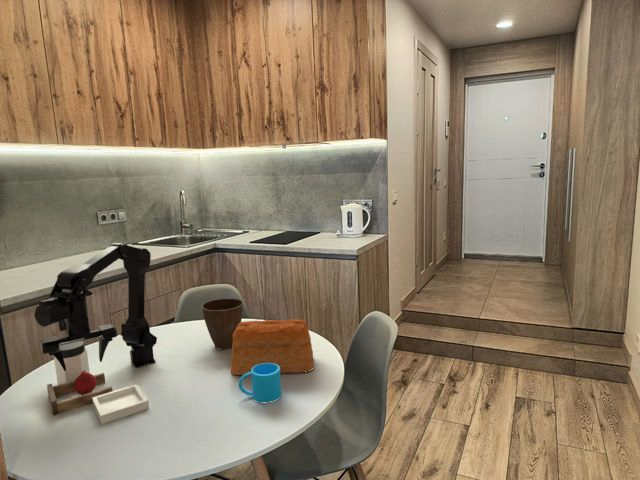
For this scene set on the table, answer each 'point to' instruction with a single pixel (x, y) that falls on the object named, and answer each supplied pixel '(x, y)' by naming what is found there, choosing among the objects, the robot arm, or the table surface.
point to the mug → (264, 382)
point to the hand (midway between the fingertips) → (83, 365)
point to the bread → (272, 346)
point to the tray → (119, 403)
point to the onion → (84, 383)
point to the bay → (75, 401)
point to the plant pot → (222, 320)
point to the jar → (72, 362)
